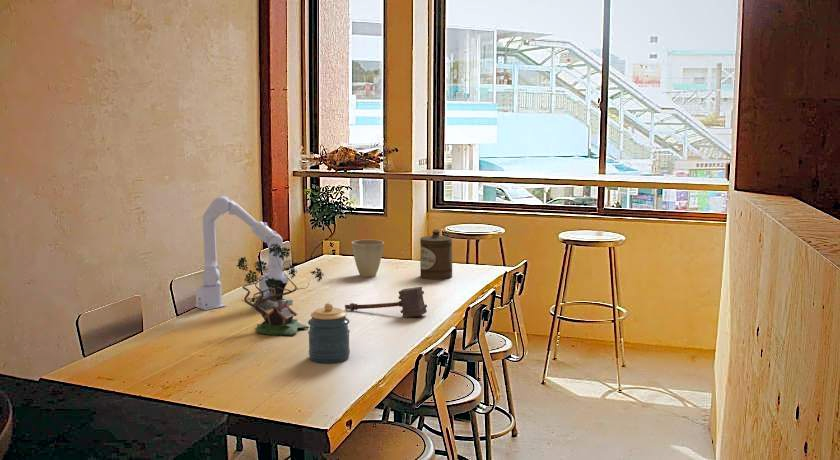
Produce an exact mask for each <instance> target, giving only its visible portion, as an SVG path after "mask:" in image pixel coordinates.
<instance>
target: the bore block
mask: <svg viewBox="0 0 840 460" xmlns="http://www.w3.org/2000/svg"><path fill="white" fill-rule="evenodd" d="M286 300H287V301H288V303H287V305H288V306H293V304H294V303H293V302H294V301H293V299H291V298H288V297H284V296H283V300H281V301H283V303H282V305H283V304H284V303H285V302H286ZM273 306H274V307H275V306H276V307H278V303H277V301H276V302H274V301H271V299H270V300H267V308H271V309H273Z"/></svg>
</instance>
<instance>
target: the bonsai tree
mask: <svg viewBox="0 0 840 460" xmlns="http://www.w3.org/2000/svg"><path fill="white" fill-rule="evenodd" d="M273 245H274V247H273V249H272V248H269V247H268V253H272V252H274V255H275V253H276V255H278V254H280V252H281V254H282V255H281V254H280V255H278V256H279V258H282V260H283V262H285V258H286V259H288V257H290V252H289V251H291V248H288V247H282V248H280V245H278V244H277V243H276V244H271V247H272V246H273ZM278 246H279V247H278ZM269 251H270V252H269ZM277 253H278V254H277ZM276 258H277V257H276ZM247 262H248V260H247V259H246V256H244V257H239V259H238V260H237V264H236V265H235V266H236V267H238V269H239V270H242V271H245V272H248V273H247V274H245V277H244V282H245V283H246V284H244V285H242V289H243V290H244V291H247V293H246V294H245V297H244V299H243V300H244V303H245V304H247V305H249V306H251V307H252V309H254V311H255V310H256V311H257V312H258V313H259V314H260V315H261V317H262V318H263V320H264V321H263V322H261V323H257V324H256V328H255V329H256V331H257V333H259V334H261V335H267V336H287V337H289V336H290V337H293V336H295V334H297V333H298V330H301V329H302V330H303V329H310V326H308V325H306V324H302V323H300V322H298V319H297V318H296V319H295V318H294V317H296V316H297V315H298V313H297V312H296V311H295V310H293V309H292V308H291V307H290V306H289V305H287V303H288V301H287V300H286V302H285V303H284V304H283V305H282V303H283V301H277V303H278V307H276V306H275V307H274V306H273V308H272V310H271V311H270V312H268V311H266V310H264V309H262V308H261V307H259V304H262V303H263V304H264V302H265V301H267V300H270V299H273V298H276V297H279V296H283V297H284V296H285V295H289V294H292V293H294V292H296V291H298V290H303V289H307V288H308V287H309V285H310V283H307V284H308V285H307V287H301V288H297V287H298V286H297V285H296V284H295V283H294V282H292V279H294V278H295V277H296V274H297V273H298V271H297V268H296V266H294V265H292V264H287V265H288V266H289V267H285V268H284V267H283V268H281V267H280V268H281V269H282V271H283V274H285V277H287V278H288V282H290V283H291V284H292V285H293V286H294V289H292V290H291V289H287V288H285V289H284V288H280V287H278V286H277V284H278V285H279V284H281V283H279V281H278V279H277V280H274V279H275V278H274V279H273V278H272V279H271V281H267V284H268V283H269V284H270V285H269V286H270V288H268V289H266V290H264V291H262V290H260V289H259V286H257V284H259V281H261V280H262V279H261V280H259V277H257V272H258V273H259V274H260V273H261V271H262V272H264V271H265V272H267V271H269V268H268V269H267V268H266V265H267V264H268V263H267V262H265V261H262V260H259V261H258V260H257V261H256V262H254V269H255V271H252V270H251V269H249V268H248V263H247ZM287 262H289V260H288V261H286V263H287ZM293 262H295V263H296V262H299V261H298V260H297V261H296V260H295V261H294V260H293ZM278 263H279V262H278ZM284 264H285V263H283V266H284ZM249 265H252V264H251V263H249ZM279 265H280V264H279ZM314 268H315V270H312V271H310V273H311V275H312V276H313V275H314V279H316V281H317V282H318V283H319V282H320V281H321V280H323V277H324V275H325V274H324V272H323V271H322V269H320V268H319V267H314ZM248 269H249V270H248ZM285 272H288V273H287V274H286V273H285ZM269 275H270V274H269ZM269 275H268V274H267V276H269ZM267 276H266V277H267ZM288 276H290V278H289V277H288ZM266 277H265V278H266ZM263 279H264V278H263ZM311 280H313V278H312V279H310V281H311ZM275 282H277V283H275ZM252 285H254V286H255V289H257V290H258V291H260V292H256V293H254V294H253V295H252V299H251V300H250V301H249V300H248V297H249V296H250V294H251V291H250V290H249V288H247V287H248V286H252ZM274 285H275V286H274ZM281 285H282V284H281ZM266 286H268V285H266ZM272 286H274V287H276V288H275V289H276V290H278V289H277V288H280V289H284V291H286V292H283V293H281V294H277V295H275V294H274V291H275V289H274V290H273V288H274V287H273V288H272ZM269 289H271V290H272V293H273V296H269V297H263V295H264V294H263V292H265V291H267V290H269ZM269 291H270V290H269ZM260 293H262V295H261V296H259V297H258V296H257V297H256V295H259V294H260ZM262 298H264V299H262Z"/></svg>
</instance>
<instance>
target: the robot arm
mask: <svg viewBox="0 0 840 460" xmlns="http://www.w3.org/2000/svg"><path fill="white" fill-rule="evenodd" d="M227 212H228V213H227ZM226 213H227V214H228V215H234V216H236V217H238V218H239V219H241V221H243V222H244V223H245V224H247V226H250V228H251V233H252V234H254V236H256V237H258V239H260V240H261V241H262V242H263V243H265V244H267V247H268V249H269V248H272V249H273V247H274V245H273V246H272V247H271V244H276V243H277V244H278V245H280V248H283V245H284V244H283V237H282V236H281V235H280V233H277V231H276V230H273V229H272V228H270V227H269V225H268V222H265V221H264V222H263V221H261V220H259V221H258V220H257V219H255V218H254V217H253V216H252V215H250V213H248V212H247V211H246V210H245V209H244V208H243V207H242V206H241V205H240V204H238V202H236V201H234V200H233V199H231V198H230V197H229V196H227V195H219V196H217V197H216V198H215V199H214V200H212V201H211V202H210V203H209V206H208V207H207V208H206V210H205V212H204V213H203V214H202V232H203V233H202V234H203V253H204V255H203V256H204V258H203V259H204V264H203V273H202V276H201V280H202V283H201V285H200V286H198V287H197V286H196V289H195V307H196V308H198V309H201V310H203V311H204V310H205V311H208V310H212V309H218V308H224V307H227V304H224V303H222V302H223V301H222V282H221V281H220V280H219V279H220V277H221V275H222V274H221V270H220V268H219V264H218V263H219V262H218V258H217V254H218V253H217V232H216V220H217V219H218V218H219V217H220V216H223V215H225V214H226ZM278 247H279V246H278ZM269 252H270V251H269V250H268V254H267V262H268V263H267V264H268V267H267V268H268V272H264V273H263V275H264V278H265V277H266V276H267V274H268V275H269V274H270V275H269V276H267V277H266V278H268V280H266V281H265V283H266V284H267V281H271V279H272V278H273V279H274V278H275V279H274V280H277V279H278V281H279V283H281V284H282V285H281V284H279V285H278V284H277V286H278V287H280V288H284V289H286V286H287V285H288V284H289V279H288V278H289V277H288V276H287V277H288V278H287V277H286V276H285V274H286V273H285V274H284V273H283V271H284V270H283V271H282V269H281V268H283V269H284V265H283V264H284V261H283V260H282V258H279V256H278V255H280V254H281V252H280V254H278V253H277V254H278V255H276V253H275V255H274V252H272V253H269ZM281 255H282V254H281ZM276 257H277V258H276ZM278 262H279V263H278ZM279 264H280V265H279ZM280 267H281V268H280ZM275 283H277V282H275ZM267 285H268V288H270V286H269V285H270V284H269V283H268V284H267ZM274 286H275V285H274ZM274 286H272V288H273V287H274ZM274 288H276V287H274ZM280 288H277V289H278V290H276V289H275V291H276V295H277V294H281V293H285V292H284V291H285V290H284V289H280ZM269 290H270V295H271V289H269ZM276 298H277V299H282V296H279V297H276Z"/></svg>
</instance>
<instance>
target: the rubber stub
mask: <svg viewBox="0 0 840 460" xmlns="http://www.w3.org/2000/svg"><path fill="white" fill-rule="evenodd" d="M264 298H265V297H263V298H262V299H264ZM258 306H259V307H261V308H262V309H264V310H265V311H266V310H268V306H267V301H265V302H264V304H263V303H262V304H259V305H258Z"/></svg>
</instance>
